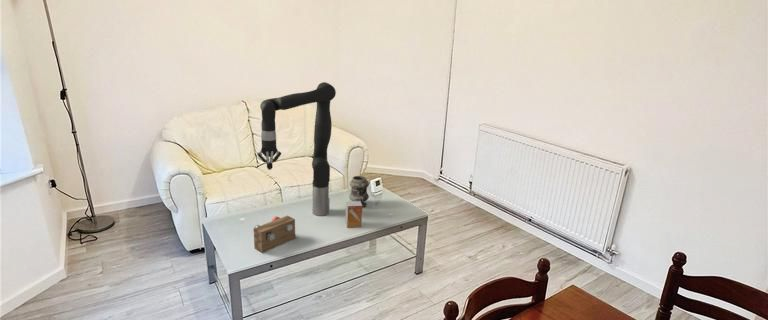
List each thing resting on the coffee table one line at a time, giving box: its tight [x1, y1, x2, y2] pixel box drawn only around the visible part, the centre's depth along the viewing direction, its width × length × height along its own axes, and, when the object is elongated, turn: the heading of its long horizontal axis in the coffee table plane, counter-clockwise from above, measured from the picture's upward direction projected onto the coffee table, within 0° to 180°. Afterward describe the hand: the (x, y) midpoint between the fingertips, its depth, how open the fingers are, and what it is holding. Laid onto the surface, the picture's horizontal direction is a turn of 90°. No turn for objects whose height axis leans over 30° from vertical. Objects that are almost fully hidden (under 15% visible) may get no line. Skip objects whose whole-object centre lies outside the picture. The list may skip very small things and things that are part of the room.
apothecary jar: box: [348, 175, 370, 209], centre depth 256 cm, size 12×12×18 cm
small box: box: [345, 200, 363, 228], centre depth 230 cm, size 8×6×13 cm
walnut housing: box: [253, 215, 296, 254], centre depth 207 cm, size 6×20×11 cm, turn 141°
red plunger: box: [271, 215, 292, 231], centre depth 211 cm, size 12×4×4 cm, turn 51°
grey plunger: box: [253, 224, 275, 241], centre depth 201 cm, size 12×4×4 cm, turn 51°
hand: (269, 169), depth 226 cm, fingers closed
